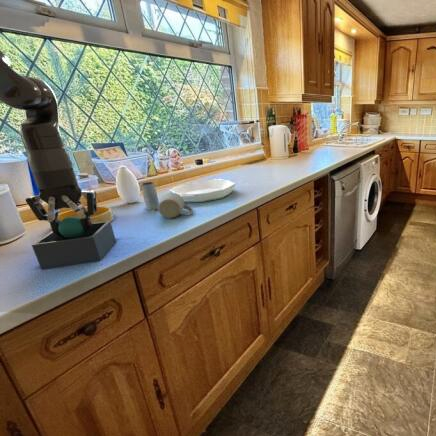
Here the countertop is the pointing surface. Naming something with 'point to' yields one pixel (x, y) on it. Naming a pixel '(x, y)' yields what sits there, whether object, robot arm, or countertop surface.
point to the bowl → (99, 216)
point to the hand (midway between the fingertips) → (74, 232)
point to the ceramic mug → (173, 206)
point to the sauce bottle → (127, 185)
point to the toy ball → (71, 227)
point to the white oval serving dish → (204, 190)
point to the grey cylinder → (150, 195)
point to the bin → (75, 247)
